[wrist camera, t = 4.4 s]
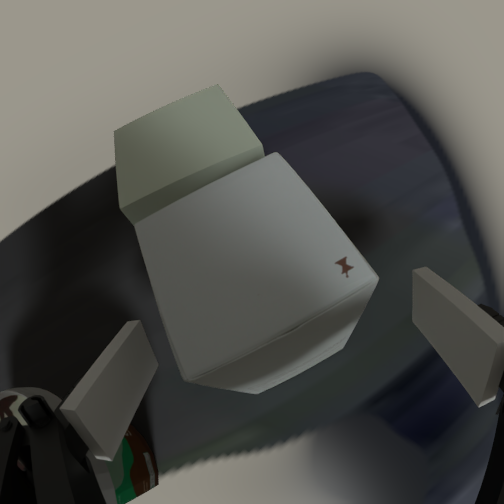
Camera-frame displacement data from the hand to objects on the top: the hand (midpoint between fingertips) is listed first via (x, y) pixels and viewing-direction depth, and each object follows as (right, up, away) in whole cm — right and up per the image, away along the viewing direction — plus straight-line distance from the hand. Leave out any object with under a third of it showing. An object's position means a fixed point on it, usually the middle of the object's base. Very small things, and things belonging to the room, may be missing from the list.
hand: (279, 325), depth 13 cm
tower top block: (-7, +11, +13) cm, 18 cm away
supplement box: (+1, -3, +8) cm, 9 cm away
